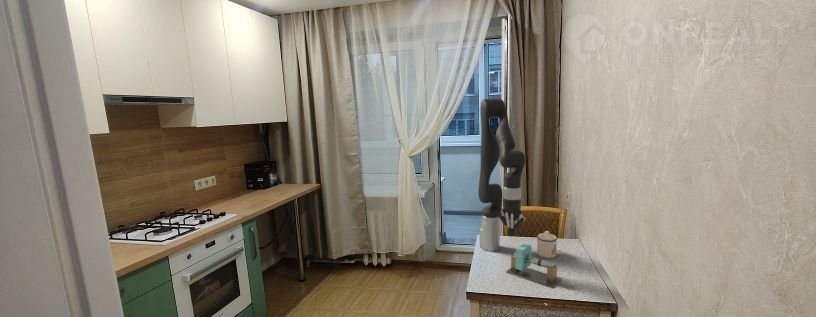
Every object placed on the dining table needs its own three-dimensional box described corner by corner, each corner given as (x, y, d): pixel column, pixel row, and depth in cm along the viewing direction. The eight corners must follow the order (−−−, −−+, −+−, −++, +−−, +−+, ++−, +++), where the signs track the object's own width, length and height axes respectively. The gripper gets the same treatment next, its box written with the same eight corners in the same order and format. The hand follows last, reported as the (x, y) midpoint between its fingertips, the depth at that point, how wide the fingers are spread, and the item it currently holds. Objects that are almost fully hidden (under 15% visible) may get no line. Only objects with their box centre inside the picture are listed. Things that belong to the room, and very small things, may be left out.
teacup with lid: (556, 259, 169) (557, 235, 168) (535, 256, 173) (536, 233, 171) (556, 250, 180) (557, 227, 178) (537, 247, 184) (538, 225, 182)
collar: (515, 268, 154) (516, 248, 153) (524, 262, 160) (524, 243, 158) (522, 270, 152) (522, 250, 151) (530, 264, 158) (531, 244, 156)
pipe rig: (506, 272, 157) (506, 254, 156) (516, 265, 163) (516, 248, 162) (551, 288, 143) (552, 267, 142) (561, 280, 149) (561, 260, 148)
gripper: (493, 196, 158) (493, 234, 160) (522, 201, 149) (521, 241, 151) (502, 193, 163) (502, 230, 165) (530, 197, 154) (529, 236, 156)
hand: (511, 235), depth 158 cm, fingers closed
